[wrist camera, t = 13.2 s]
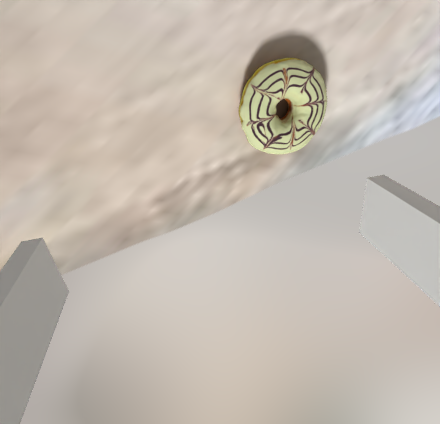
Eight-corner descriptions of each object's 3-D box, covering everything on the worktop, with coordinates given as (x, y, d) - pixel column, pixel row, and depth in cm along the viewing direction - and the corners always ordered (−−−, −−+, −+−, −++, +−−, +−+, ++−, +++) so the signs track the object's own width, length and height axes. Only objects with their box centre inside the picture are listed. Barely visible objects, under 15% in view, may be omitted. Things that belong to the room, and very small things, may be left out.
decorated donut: (243, 157, 40) (251, 167, 37) (227, 70, 34) (234, 73, 31) (318, 136, 40) (332, 145, 37) (314, 47, 35) (329, 48, 32)
